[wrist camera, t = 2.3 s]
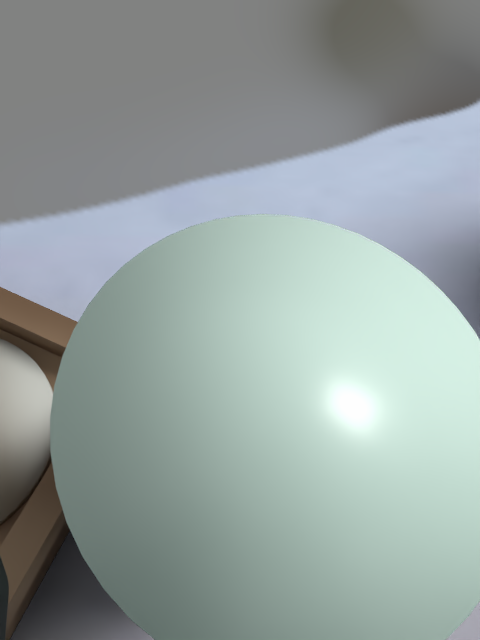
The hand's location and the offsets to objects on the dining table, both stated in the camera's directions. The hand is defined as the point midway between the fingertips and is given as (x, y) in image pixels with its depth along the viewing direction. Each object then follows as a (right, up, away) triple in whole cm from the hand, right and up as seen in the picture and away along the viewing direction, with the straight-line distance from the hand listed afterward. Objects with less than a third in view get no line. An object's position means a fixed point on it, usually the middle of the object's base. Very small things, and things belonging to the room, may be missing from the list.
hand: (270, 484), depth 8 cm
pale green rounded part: (-2, -4, +8) cm, 9 cm away
